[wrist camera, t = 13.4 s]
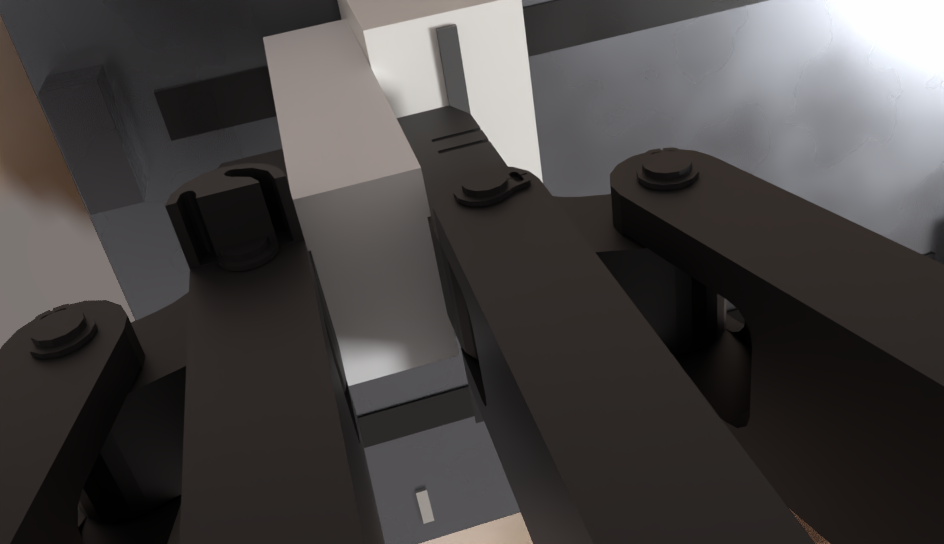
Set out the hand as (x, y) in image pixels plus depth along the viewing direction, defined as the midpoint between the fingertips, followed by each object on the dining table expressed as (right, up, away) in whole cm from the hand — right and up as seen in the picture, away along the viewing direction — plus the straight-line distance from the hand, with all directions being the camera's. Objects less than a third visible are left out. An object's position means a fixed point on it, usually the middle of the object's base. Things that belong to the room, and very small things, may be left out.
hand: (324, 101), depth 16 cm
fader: (+2, +1, +1) cm, 2 cm away
